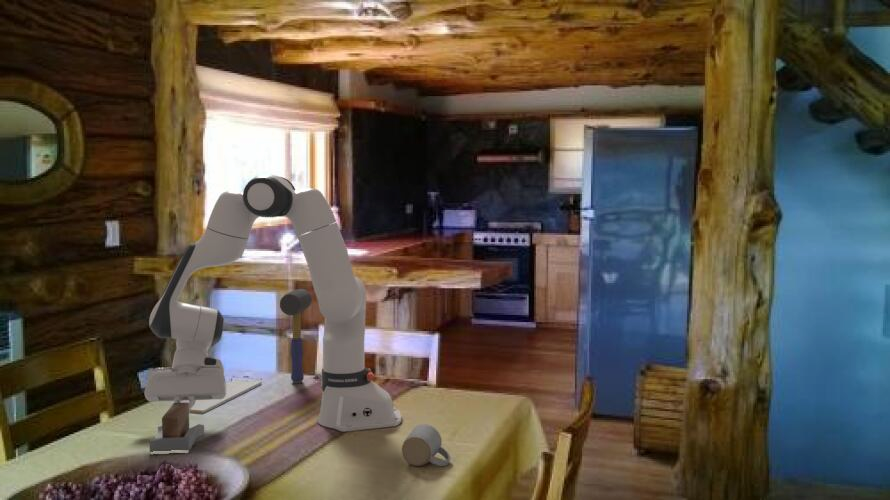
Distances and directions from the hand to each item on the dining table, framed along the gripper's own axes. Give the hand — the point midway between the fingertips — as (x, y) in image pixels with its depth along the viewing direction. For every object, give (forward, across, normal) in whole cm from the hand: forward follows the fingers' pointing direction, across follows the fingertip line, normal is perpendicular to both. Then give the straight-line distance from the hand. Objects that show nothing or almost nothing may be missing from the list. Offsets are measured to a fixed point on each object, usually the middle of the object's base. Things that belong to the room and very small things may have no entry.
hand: (182, 414), depth 186 cm
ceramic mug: (+23, +60, -16) cm, 66 cm away
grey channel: (+10, 0, -3) cm, 10 cm away
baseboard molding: (-18, +3, +27) cm, 32 cm away
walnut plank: (+8, 0, -1) cm, 8 cm away
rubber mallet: (-28, +26, +35) cm, 51 cm away
